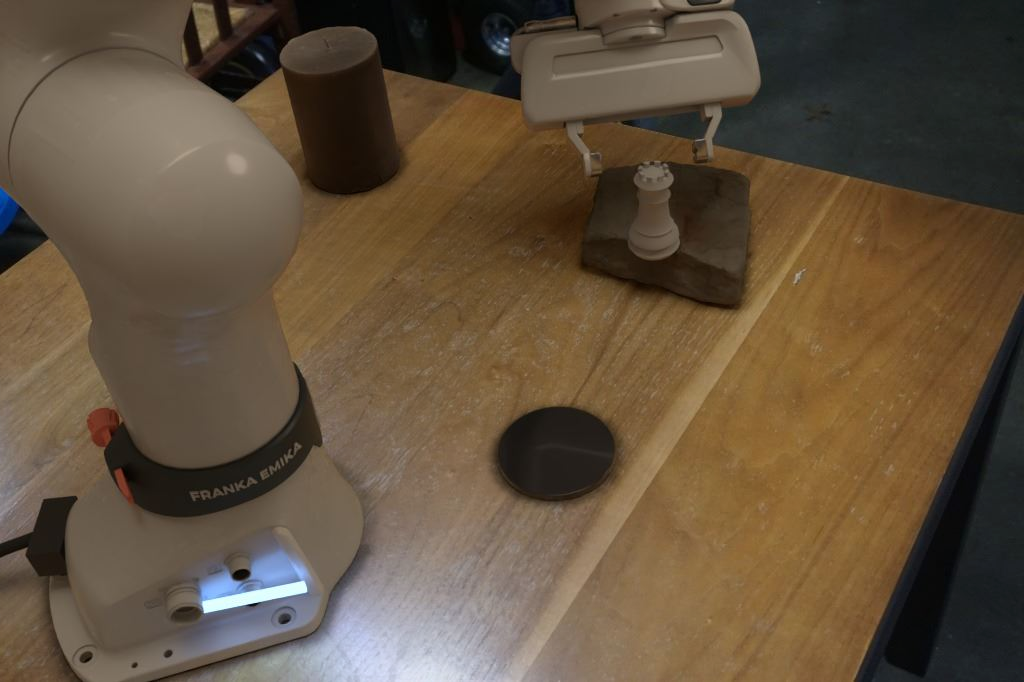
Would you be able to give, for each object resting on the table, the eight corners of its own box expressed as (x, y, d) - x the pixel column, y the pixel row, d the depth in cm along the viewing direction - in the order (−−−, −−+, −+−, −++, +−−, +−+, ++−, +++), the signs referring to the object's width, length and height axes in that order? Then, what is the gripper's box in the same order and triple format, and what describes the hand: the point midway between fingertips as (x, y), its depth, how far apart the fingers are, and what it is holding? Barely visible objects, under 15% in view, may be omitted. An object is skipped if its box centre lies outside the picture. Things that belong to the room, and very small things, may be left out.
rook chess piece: (688, 239, 95) (690, 161, 90) (665, 268, 92) (665, 190, 87) (642, 225, 97) (641, 148, 92) (618, 254, 94) (616, 176, 89)
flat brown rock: (741, 310, 94) (744, 273, 91) (572, 296, 97) (569, 260, 95) (755, 195, 106) (758, 159, 103) (604, 187, 109) (602, 151, 106)
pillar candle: (370, 201, 111) (342, 68, 100) (290, 184, 114) (255, 53, 104) (417, 150, 117) (394, 19, 107) (340, 135, 120) (310, 7, 110)
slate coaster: (531, 519, 80) (531, 513, 79) (478, 439, 86) (477, 434, 85) (638, 469, 82) (638, 464, 82) (578, 395, 88) (578, 390, 88)
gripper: (506, 11, 90) (527, 177, 90) (752, -20, 90) (775, 145, 90) (506, 36, 97) (526, 191, 96) (736, 6, 97) (758, 161, 96)
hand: (649, 169), depth 93 cm, fingers open, 8 cm apart
